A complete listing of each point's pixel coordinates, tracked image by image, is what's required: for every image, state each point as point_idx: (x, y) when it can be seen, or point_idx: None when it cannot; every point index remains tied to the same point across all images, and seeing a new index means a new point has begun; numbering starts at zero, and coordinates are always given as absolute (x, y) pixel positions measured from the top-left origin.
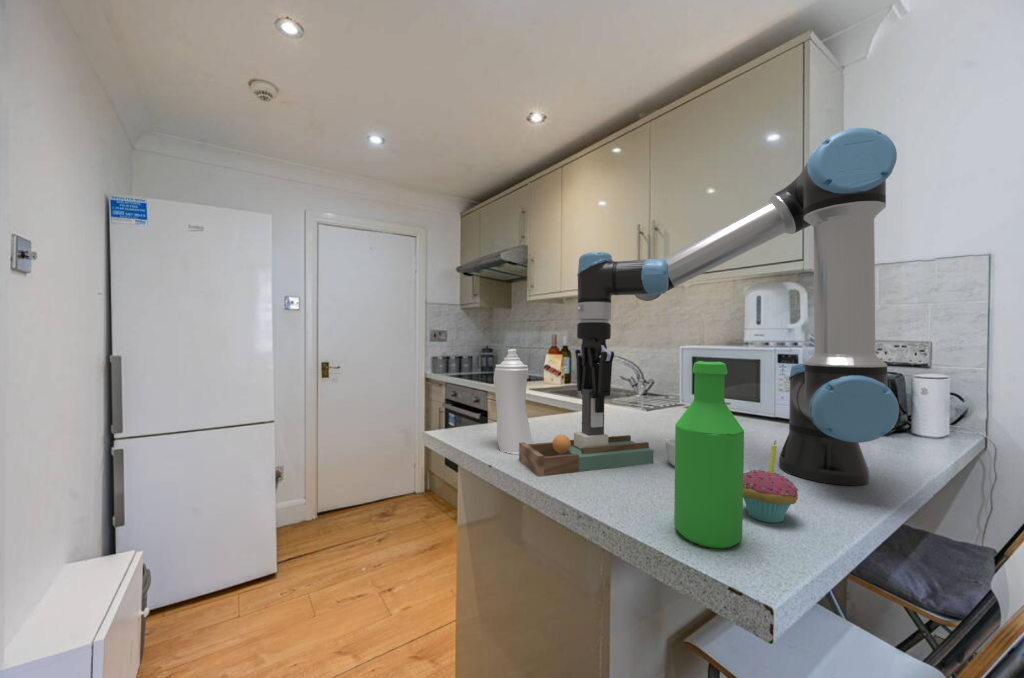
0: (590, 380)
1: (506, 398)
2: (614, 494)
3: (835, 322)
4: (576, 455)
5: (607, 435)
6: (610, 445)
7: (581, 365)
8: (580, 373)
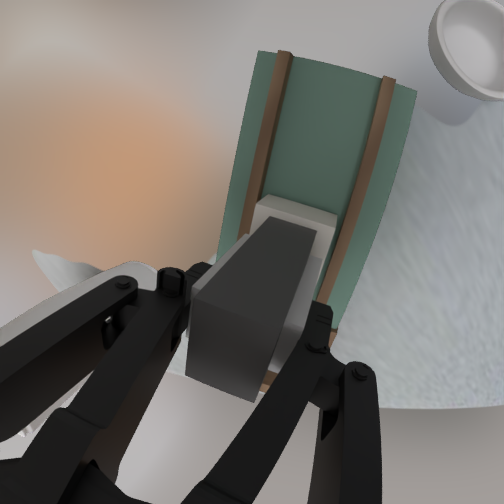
0: (153, 363)
1: (78, 388)
2: (456, 344)
3: None
4: (334, 338)
5: (334, 230)
6: (348, 220)
7: (37, 402)
8: (76, 379)
